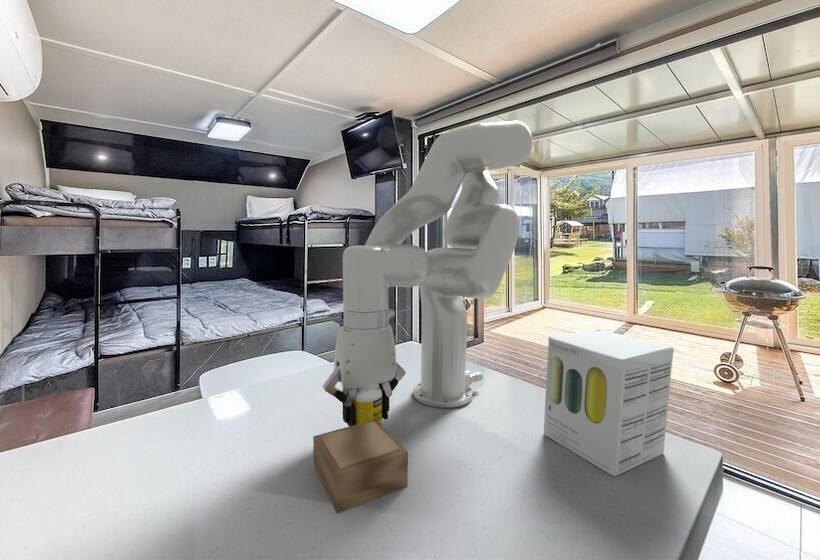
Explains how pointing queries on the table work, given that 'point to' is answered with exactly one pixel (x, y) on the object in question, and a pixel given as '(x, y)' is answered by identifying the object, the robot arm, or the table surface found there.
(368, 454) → the brown square tray
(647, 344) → the supplement box
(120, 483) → the table surface
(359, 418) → the supplement bottle
